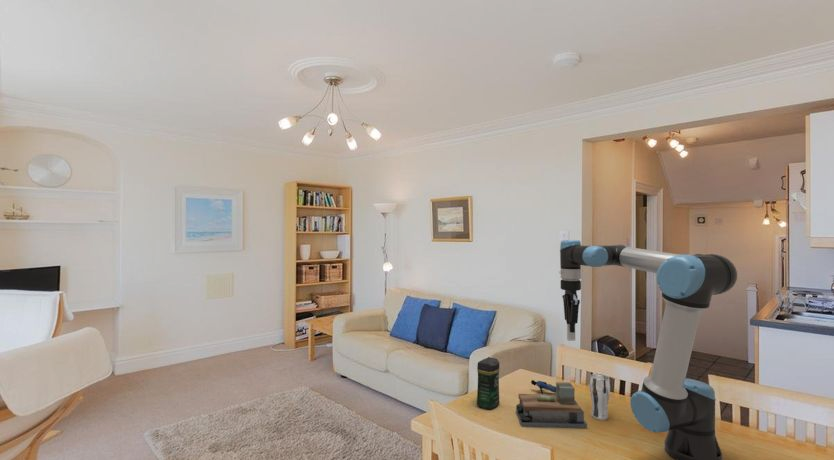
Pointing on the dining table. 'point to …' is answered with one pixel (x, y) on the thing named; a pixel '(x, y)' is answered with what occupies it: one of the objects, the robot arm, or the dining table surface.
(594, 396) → the beer glass
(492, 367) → the coffee jar
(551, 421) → the grey base with fittings
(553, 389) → the person figurine
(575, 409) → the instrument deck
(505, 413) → the dining table surface
